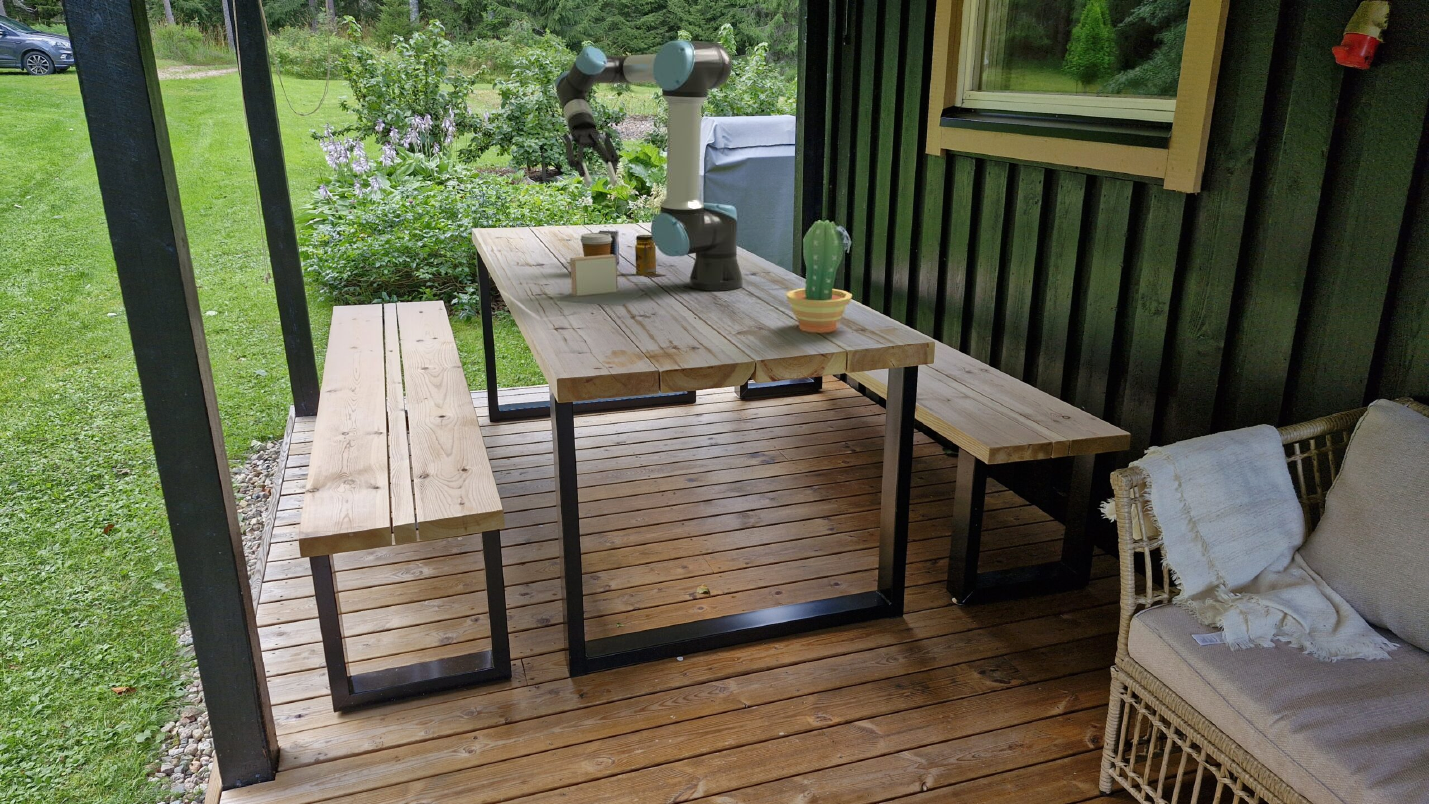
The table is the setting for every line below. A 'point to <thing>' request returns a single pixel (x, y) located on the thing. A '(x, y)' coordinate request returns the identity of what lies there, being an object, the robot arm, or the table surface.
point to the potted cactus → (821, 279)
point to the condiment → (646, 257)
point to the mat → (604, 298)
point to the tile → (594, 275)
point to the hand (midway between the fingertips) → (602, 184)
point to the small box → (613, 243)
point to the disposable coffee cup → (596, 244)
